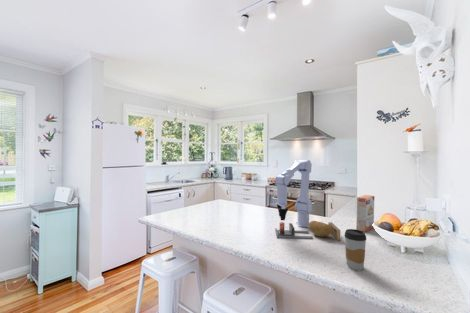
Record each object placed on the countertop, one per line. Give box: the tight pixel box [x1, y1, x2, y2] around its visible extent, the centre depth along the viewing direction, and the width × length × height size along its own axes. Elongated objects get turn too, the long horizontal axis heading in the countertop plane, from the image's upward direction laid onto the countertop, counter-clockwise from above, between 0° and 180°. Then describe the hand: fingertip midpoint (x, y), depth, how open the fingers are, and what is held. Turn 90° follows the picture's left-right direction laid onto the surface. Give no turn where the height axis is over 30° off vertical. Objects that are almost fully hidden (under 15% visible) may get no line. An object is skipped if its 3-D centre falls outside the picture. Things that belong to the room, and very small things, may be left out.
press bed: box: [274, 221, 341, 242], centre depth 133 cm, size 14×34×6 cm, turn 85°
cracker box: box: [356, 194, 375, 233], centre depth 144 cm, size 14×6×21 cm, turn 131°
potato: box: [308, 220, 333, 238], centre depth 132 cm, size 10×14×8 cm
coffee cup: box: [343, 228, 367, 271], centre depth 96 cm, size 8×8×15 cm
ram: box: [277, 222, 295, 236], centre depth 134 cm, size 9×9×7 cm
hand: (282, 218), depth 134 cm, fingers open, 7 cm apart
